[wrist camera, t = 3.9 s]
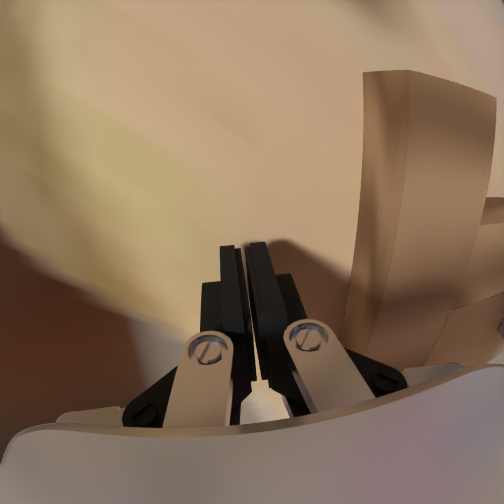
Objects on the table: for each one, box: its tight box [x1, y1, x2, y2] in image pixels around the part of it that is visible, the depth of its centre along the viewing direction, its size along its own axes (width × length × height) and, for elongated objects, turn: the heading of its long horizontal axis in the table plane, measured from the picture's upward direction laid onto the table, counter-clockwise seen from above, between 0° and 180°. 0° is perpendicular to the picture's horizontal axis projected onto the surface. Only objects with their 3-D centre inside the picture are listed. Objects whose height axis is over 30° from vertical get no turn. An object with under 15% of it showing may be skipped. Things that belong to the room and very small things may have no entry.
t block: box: [339, 70, 504, 372], centre depth 11 cm, size 15×14×3 cm
